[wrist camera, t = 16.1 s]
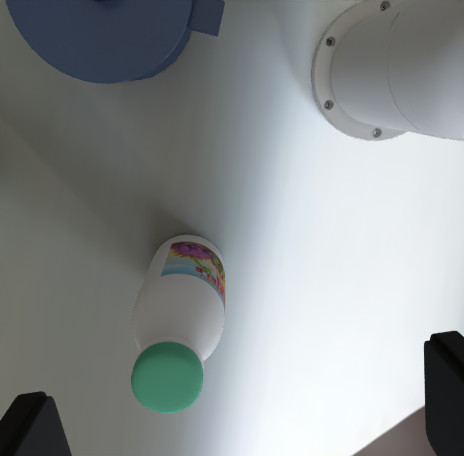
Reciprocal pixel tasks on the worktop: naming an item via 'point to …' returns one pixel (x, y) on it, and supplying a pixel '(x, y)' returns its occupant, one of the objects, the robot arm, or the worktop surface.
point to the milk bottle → (177, 322)
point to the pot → (194, 29)
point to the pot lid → (102, 34)
